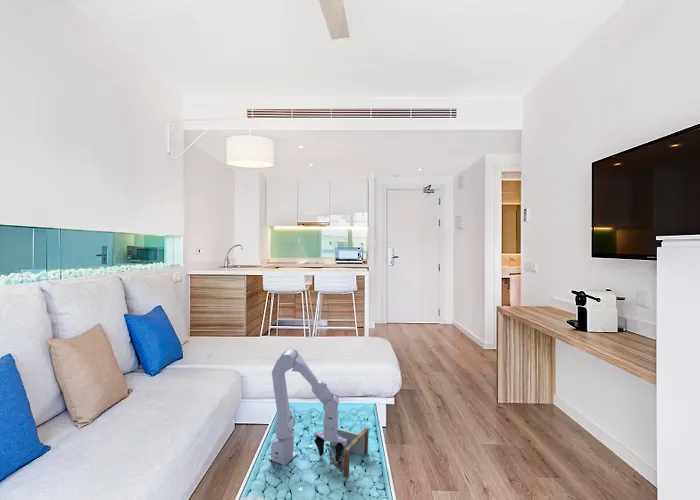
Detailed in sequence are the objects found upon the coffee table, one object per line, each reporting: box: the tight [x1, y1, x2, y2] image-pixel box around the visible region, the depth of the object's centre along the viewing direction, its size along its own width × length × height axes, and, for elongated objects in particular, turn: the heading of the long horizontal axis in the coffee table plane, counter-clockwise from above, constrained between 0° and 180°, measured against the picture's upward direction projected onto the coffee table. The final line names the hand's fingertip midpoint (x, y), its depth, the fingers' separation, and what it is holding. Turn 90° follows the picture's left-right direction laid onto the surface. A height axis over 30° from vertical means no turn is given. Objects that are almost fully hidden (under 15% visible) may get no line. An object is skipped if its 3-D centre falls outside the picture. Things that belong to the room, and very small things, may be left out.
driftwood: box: [324, 443, 344, 472], centre depth 169 cm, size 21×7×2 cm, turn 12°
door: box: [329, 427, 365, 456], centre depth 174 cm, size 16×2×8 cm, turn 64°
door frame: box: [342, 427, 370, 479], centre depth 164 cm, size 20×2×11 cm, turn 154°
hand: (329, 457), depth 166 cm, fingers open, 7 cm apart
